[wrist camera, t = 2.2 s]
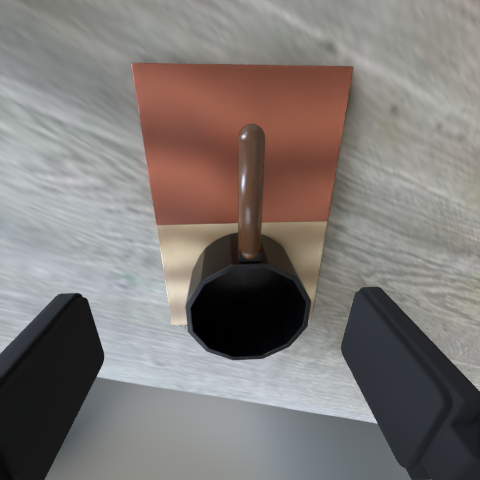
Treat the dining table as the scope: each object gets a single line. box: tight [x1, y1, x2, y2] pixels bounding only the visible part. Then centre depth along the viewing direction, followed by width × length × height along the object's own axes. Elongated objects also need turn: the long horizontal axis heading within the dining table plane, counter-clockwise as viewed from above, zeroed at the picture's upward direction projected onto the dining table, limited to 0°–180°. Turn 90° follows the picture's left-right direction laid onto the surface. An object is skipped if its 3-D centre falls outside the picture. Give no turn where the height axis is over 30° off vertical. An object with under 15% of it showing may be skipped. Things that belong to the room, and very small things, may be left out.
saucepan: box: [185, 124, 311, 360], centre depth 25 cm, size 23×12×7 cm, turn 0°
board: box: [131, 63, 353, 326], centre depth 28 cm, size 29×19×1 cm, turn 0°
